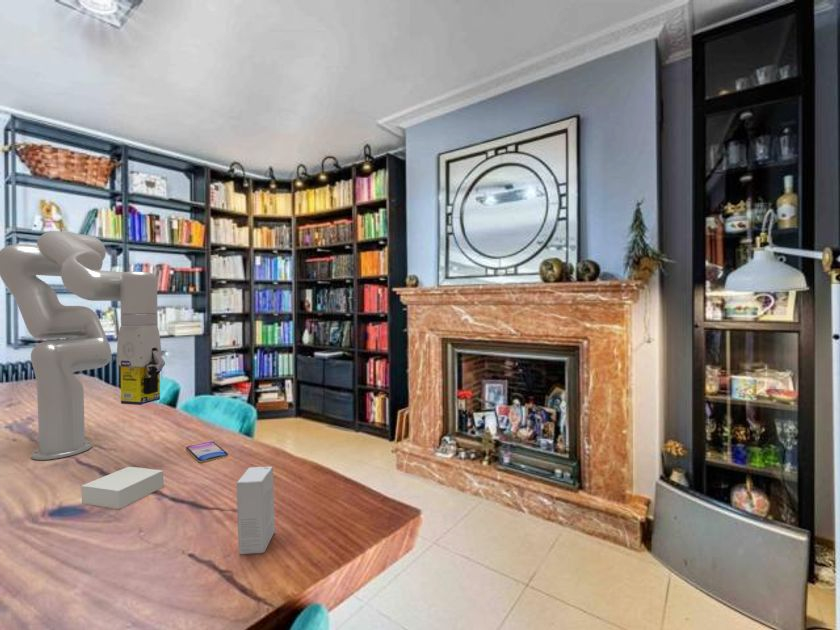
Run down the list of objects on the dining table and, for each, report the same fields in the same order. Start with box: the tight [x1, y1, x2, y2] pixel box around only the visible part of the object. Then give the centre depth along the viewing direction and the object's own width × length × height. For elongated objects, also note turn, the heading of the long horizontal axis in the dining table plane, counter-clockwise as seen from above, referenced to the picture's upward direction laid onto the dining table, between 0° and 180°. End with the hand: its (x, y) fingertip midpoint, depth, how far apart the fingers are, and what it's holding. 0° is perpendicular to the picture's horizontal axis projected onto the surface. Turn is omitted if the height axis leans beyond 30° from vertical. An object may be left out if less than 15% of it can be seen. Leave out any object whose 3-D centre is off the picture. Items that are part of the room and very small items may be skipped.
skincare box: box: [236, 466, 275, 555], centre depth 66 cm, size 6×4×12 cm
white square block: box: [80, 466, 164, 510], centre depth 84 cm, size 10×10×4 cm
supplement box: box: [120, 360, 161, 406], centre depth 99 cm, size 6×6×11 cm
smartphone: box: [185, 441, 229, 464], centre depth 108 cm, size 8×15×1 cm, turn 43°
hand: (141, 391), depth 99 cm, fingers closed on supplement box, 6 cm apart
